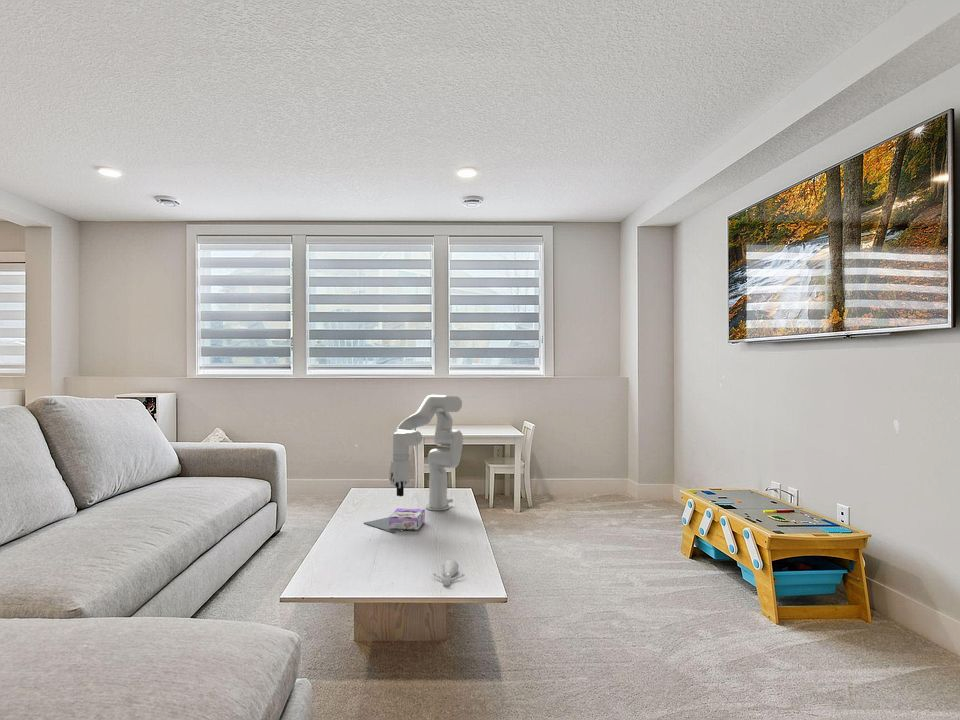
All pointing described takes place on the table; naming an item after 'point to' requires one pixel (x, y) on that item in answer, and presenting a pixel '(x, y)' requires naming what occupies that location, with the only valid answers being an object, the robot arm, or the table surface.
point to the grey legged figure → (449, 571)
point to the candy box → (407, 519)
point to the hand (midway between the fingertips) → (400, 495)
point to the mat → (382, 524)
